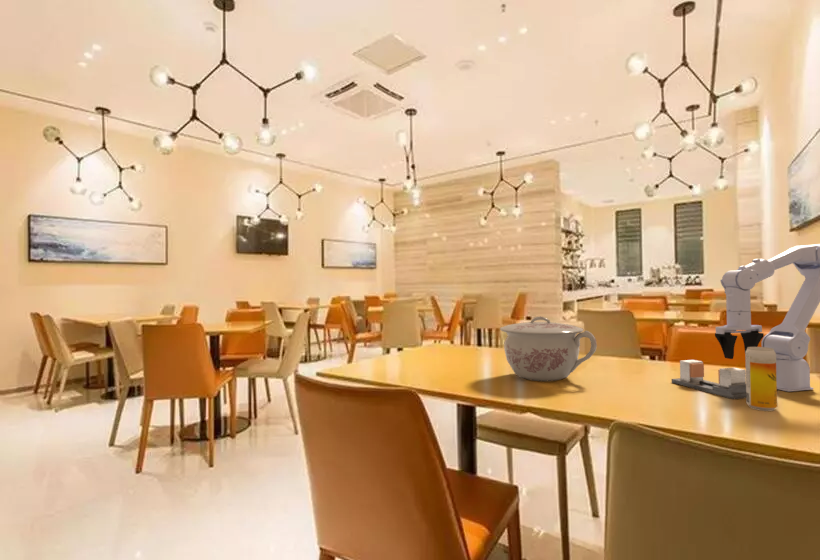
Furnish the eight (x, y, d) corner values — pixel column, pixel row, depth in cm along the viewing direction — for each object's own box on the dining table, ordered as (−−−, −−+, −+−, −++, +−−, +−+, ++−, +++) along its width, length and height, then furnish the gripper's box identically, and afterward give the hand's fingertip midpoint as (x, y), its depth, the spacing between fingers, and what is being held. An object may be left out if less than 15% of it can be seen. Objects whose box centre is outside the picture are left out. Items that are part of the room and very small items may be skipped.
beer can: (782, 412, 109) (781, 350, 109) (754, 411, 111) (753, 349, 111) (768, 405, 115) (767, 346, 115) (741, 404, 117) (740, 346, 117)
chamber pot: (486, 372, 162) (485, 315, 163) (552, 367, 171) (551, 312, 171) (529, 390, 136) (528, 321, 136) (604, 382, 144) (603, 317, 144)
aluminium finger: (745, 391, 125) (745, 369, 125) (731, 392, 124) (730, 370, 124) (731, 388, 129) (731, 367, 129) (717, 389, 128) (716, 368, 128)
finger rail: (671, 382, 142) (671, 359, 142) (692, 381, 144) (692, 358, 144) (733, 399, 121) (732, 372, 122) (757, 397, 123) (756, 370, 123)
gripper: (745, 309, 137) (746, 354, 137) (706, 311, 134) (707, 356, 134) (768, 310, 130) (769, 358, 130) (727, 312, 127) (728, 360, 127)
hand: (739, 357), depth 131 cm, fingers open, 7 cm apart
